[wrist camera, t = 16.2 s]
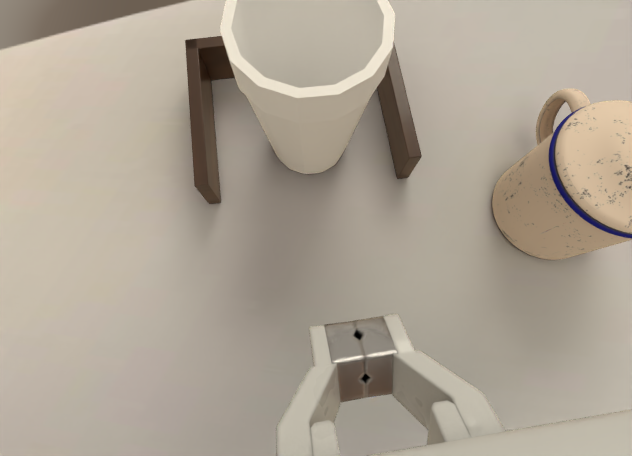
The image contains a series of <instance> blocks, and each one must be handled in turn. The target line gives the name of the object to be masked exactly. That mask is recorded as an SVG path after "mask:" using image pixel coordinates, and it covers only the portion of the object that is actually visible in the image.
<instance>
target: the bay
mask: <svg viewBox="0 0 632 456" xmlns="http://www.w3.org/2000/svg"><path fill="white" fill-rule="evenodd" d="M185 43H186V58H187V74H188V89H189V105H190V120H191V136H192V151H193V167H194V183H195V187H196V188H197V189H198V191H199V192H200V193H201V194H202V195H203V197H204V198H205V199H206V200H207V202H208V203H209V204H212V203H220V202H221V196H220V184H219V172H218V160H217V148H216V136H215V124H214V112H213V100H212V88H211V80H216V79H224V78H233V77H235V76H234V73H233V70H232V67H231V64H230V61H229V58H228V55H227V52H226V48H225V45H224V42H223V38H222V36H217V37H208V38H199V39H190V40H185ZM377 89H378V94H379V98H380V103H381V107H382V112H383V116H384V121H385V125H386V130H387V134H388V139H389V143H390V148H391V152H392V157H393V161H394V166H395V171H396V175H397V179H399V178H407V177H409V175H410V174H411V172H412V171H413V169H414V167H415V166H416V164H417V163H418V161H419V160H420V158H421V152H420V148H419V144H418V140H417V136H416V131H415V127H414V123H413V119H412V115H411V111H410V107H409V103H408V99H407V94H406V90H405V86H404V82H403V78H402V74H401V70H400V66H399V62H398V58H397V53H396V49H395V45H394V41H393V49H392V52H391V56H390V59H389V63H388V66H387V69H386V73H385V76H384V78H383V79H382V81H381V82H380V84H379V85H378V87H377Z"/></svg>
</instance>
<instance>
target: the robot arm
mask: <svg viewBox="0 0 632 456" xmlns="http://www.w3.org/2000/svg"><path fill="white" fill-rule="evenodd" d="M309 334H310V342H311V349H312V357H313V364H314V367H310V368H309V370H308V371H307V373H306V375H305V377H304V379H303V380H302V382H301V384H300V386H299V387H298V389H297V391H296V393H295V395H294V396H293V398H292V400H291V402H290V404H289V405H288V407H287V409H286V411H285V412H284V414H283V416H282V418H281V420H280V421H279V423H278V425H277V427H276V454H277V456H340V451H339V446H338V440H337V435H336V429H335V424H334V421H335V418H336V415H337V413H338V410H339V407H340V402H346V401H351V400H356V399H361V398H366V397H374V396H381V395H388V394H392V395H393V396H394V397H395V398H396V399H397V400H398V401H399V402H400V403H401V404H402V405H403V406H404V407H405V408H406V409H407V410H408V411H409V412H410V413H411V414H412V415H413V416H414V417H415V418H416V419H417V420H418V421H419V422H420V423H421V424H422V425H423V426H424V427H425V428H426V429H427V430H428V440H427V445H425V446H420V447H414V448H408V449H403V450H397V451H391V452H385V453H380V454H374V455H368V456H632V409H631V410H625V411H619V412H614V413H608V414H602V415H596V416H591V417H585V418H579V419H574V420H568V421H562V422H556V423H551V424H545V425H539V426H533V427H528V428H522V429H516V430H511V431H506V430H505V429H504V427H503V425H502V424H501V422H500V420H499V418H498V417H497V415H496V413H495V412H494V410H493V408H492V407H491V405H490V403H489V401H488V400H487V398H486V396H485V395H484V393H483V392H481V391H480V390H478V389H477V388H475V387H474V386H472V385H471V384H469V383H468V382H466V381H465V380H463V379H462V378H460V377H459V376H457V375H456V374H454V373H453V372H451V371H450V370H448V369H447V368H445V367H444V366H443V365H441V364H440V363H438V362H437V361H435V360H434V359H432V358H431V357H429V356H428V355H426V354H425V353H423V352H422V351H420V350H416V351H415V349H414V347H413V345H412V343H411V340H410V338H409V336H408V334H407V332H406V330H405V327H404V325H403V323H402V321H401V319H400V316H399V315H398V314H391V315H385V316H379V317H373V318H367V319H361V320H355V321H349V322H341V323H334V324H326V325H321V326H312V327H309Z"/></svg>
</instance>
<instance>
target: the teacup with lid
mask: <svg viewBox="0 0 632 456" xmlns="http://www.w3.org/2000/svg"><path fill="white" fill-rule="evenodd" d="M565 102H567V103H568V105H569V107H570V109H571V112H572V113H571V114H570V115H568V116H567V117H566V118H565V119H564V120H563V121H562V122H561V123H560V124H559V126H558V127H557V129H556V130H555V132H554V133H553V124H554V120H555V117H556V115H557V113H558V111H559V109H560V108H561V106H562V105H563V104H564V103H565ZM536 139H537V144H538V146H536V147H535V148H534V149H533V150H532V151H530V152H529V153H528V154H527V155H525V156H524V157H523V158H522V159H521V160H519V161H518V162H517V163H516V164H514V165H513V166H512V167H511V168H510V169H508V170H507V171H506V172H505V173H504V174H503V175H502V176H501V178H500V179H499V181H498V182H497V184H496V186H495V189H494V193H493V199H492V206H493V213H494V217H495V220H496V222H497V224H498V226H499V228H500V230H501V231H502V233H503V234H504V236H505V237H506V238H507V239H508V240H509V241H510V242H511V243H512V244H513V245H514V246H516V247H517V248H518V249H520V250H522V251H523V252H525V253H527V254H529V255H532V256H535V257H538V258H542V259H549V260H557V259H565V258H569V257H572V256H576V255H579V254H583V253H587V252H590V251H594V250H597V249H601V248H604V247H608V246H611V245H615V244H618V243H622V242H625V241H629V240H632V102H630V101H621V100H613V101H603V102H597V103H593V104H590V102H589V100H588V98H587V96H586V95H585V94H584V93H583V92H581V91H579V90H577V89H563V90H559V91H557V92H556V93H554V94H553V95H552V96H551V97H550V98H549V99H548V100H547V101H546V103H545V104H544V106H543V108H542V110H541V112H540V114H539V117H538V120H537V125H536Z"/></svg>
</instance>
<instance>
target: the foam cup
mask: <svg viewBox="0 0 632 456" xmlns="http://www.w3.org/2000/svg"><path fill="white" fill-rule="evenodd" d="M394 25H395V14H394V12H393V10H392V8H391V6H390V4H389V1H388V0H226V3H225V8H224V12H223V17H222V21H221V26H220V32H221V35H222V38H223V42H224V45H225V48H226V52H227V55H228V58H229V61H230V64H231V67H232V70H233V73H234V76H235V79H236V82H237V85H238V88H239V90H240V91H241V92H243V93H244V94H245V95H246V97H247V99H248V100H249V102H250V104H251V106H252V108H253V110H254V112H255V114H256V116H257V118H258V120H259V122H260V124H261V126H262V128H263V130H264V132H265V134H266V136H267V138H268V140H269V142H270V144H271V146H272V148H273V150H274V152H275V154H276V156H277V157H278V159H279V160H280V161H281V162H282V163H284V164H285V165H286V166H287V167H288V168H289V169H290V170H293V171H297V172H300V173H303V174H313V173H322V172H324V171H325V170H327V169H329V168H330V167H332V166H334V165H335V164H336V163H337V161H338V160H339V158H340V157H341V155H342V154H343V152H344V150H345V149H346V147H347V145H348V143H349V141H350V139H351V137H352V135H353V132H354V130H355V128H356V126H357V124H358V122H359V120H360V118H361V116H362V114H363V112H364V110H365V108H366V106H367V104H368V102H369V100H370V98H371V95H372V94H373V93H374V91H375V90H376V88H377V87H378V85H379V84H380V82H381V81H382V79H383V78H384V76H385V73H386V69H387V66H388V63H389V59H390V56H391V52H392V49H393V39H394Z"/></svg>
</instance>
